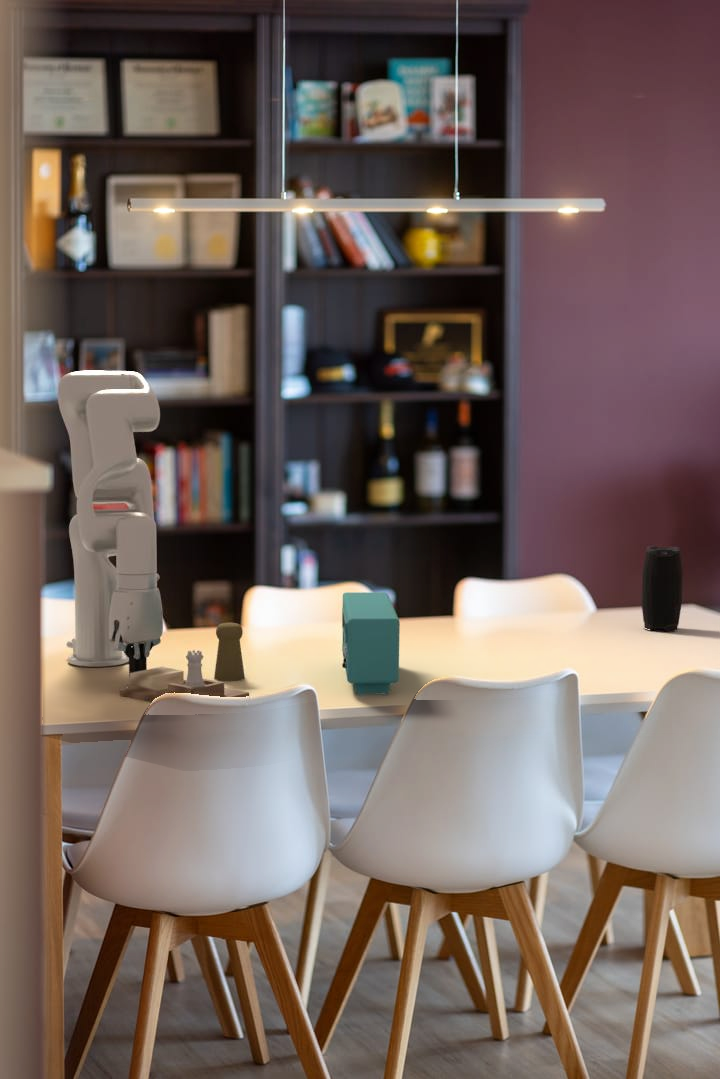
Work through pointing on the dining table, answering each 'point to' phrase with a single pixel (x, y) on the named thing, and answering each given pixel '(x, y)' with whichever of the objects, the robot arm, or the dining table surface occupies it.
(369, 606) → the radio
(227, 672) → the cork
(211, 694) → the board
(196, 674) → the rook chess piece
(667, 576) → the portable speaker
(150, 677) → the cream rectangular block
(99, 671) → the dining table surface
